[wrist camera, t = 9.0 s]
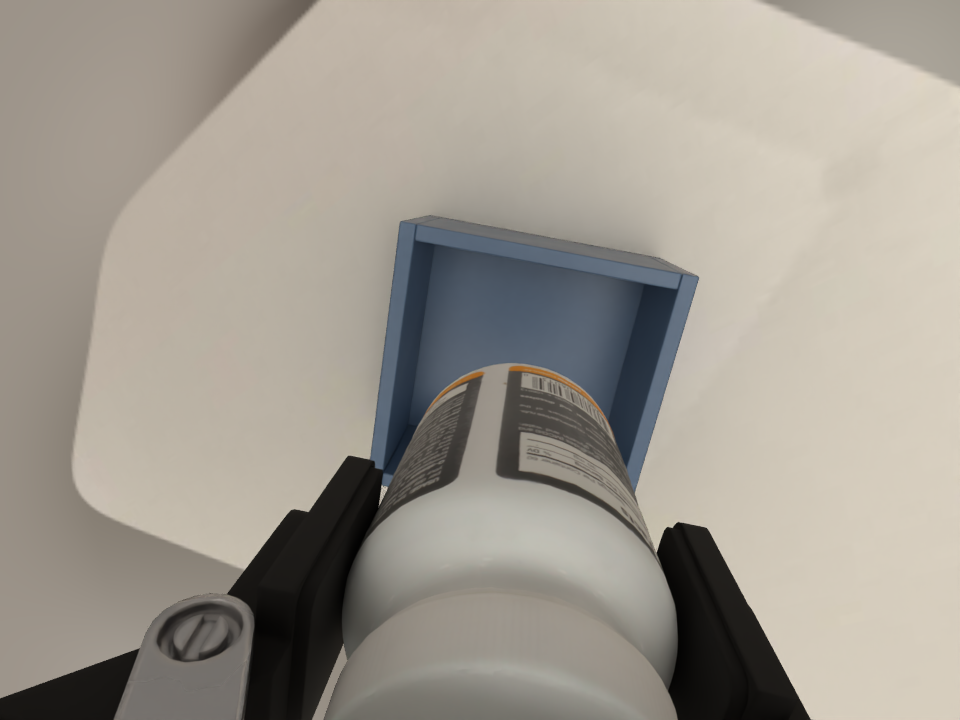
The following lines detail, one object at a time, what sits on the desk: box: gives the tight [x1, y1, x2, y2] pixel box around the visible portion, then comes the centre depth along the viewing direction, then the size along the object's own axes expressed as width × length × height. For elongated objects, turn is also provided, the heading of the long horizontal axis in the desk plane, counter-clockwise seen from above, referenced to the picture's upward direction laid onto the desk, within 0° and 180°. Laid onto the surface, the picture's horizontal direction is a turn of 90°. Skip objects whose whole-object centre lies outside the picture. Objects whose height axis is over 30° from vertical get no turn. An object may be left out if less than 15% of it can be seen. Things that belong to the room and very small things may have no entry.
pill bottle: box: [324, 363, 678, 720], centre depth 11 cm, size 6×6×10 cm
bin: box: [370, 215, 699, 493], centre depth 23 cm, size 11×11×6 cm
